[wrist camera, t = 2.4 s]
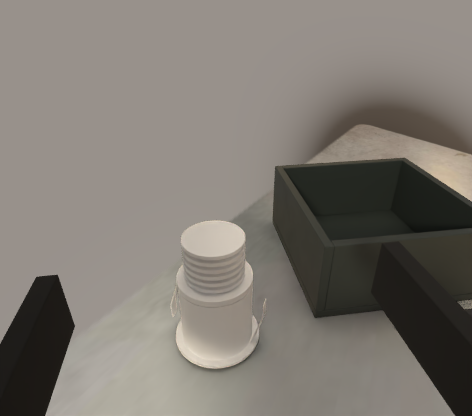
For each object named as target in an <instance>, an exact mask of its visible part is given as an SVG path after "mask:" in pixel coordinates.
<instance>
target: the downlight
mask: <svg viewBox="0 0 472 416" xmlns="http://www.w3.org/2000/svg"><path fill="white" fill-rule="evenodd" d="M181 247H182V258H183V264H182V266H181V267H180V268H179V270H178V272H177V276H176V281H177V283H176V287H175V290H174V294H173V298H172V301H171V305H170V307H171V312H172V317H173V316H174V315H175V313H176V312H177V305H176V295H177V292H178V297H179V305H180V313H181V320H180V322H179V324H178V326H177V330H176V342H177V346H178V348H179V350H180V352H181V353H182V355H183V356H184V357H185V358H186V359H187V360H189V361H190V362H192V363H194V364H196V365H198V366H201V367H205V368H213V369H218V368H226V367H230V366H233V365H236V364H238V363H240V362H241V361H243V360H244V359H246V358H247V357H248V356H249V355H250V354H251V353H252V352H253V350H254V349H255V347H256V345H257V343H258V339H259V327H260V325H261V323H262V321H263V319H264V316H265V313H266V298H265V301H264V304H263V317H262V319H261V321H260V323H259V325H258V323H257V321H256V319H255V317H254V316H253V314H252V304H253V271H252V268H251V266H250V265H249V263H248V262H247V261H246V260H245V233H244V231H243V230H242V229H241V228H240V227H239V226H237V225H235V224H233V223H230V222H226V221H219V220H211V221H204V222H200V223H197V224H194V225H192V226H190V227H189V228H188V229H186V230H185V231H184V233H183V234H182V236H181Z"/></svg>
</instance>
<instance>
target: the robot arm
mask: <svg viewBox="0 0 472 416" xmlns="http://www.w3.org/2000/svg"><path fill="white" fill-rule="evenodd" d="M371 293H372V295H373V296H374V298H375V299H376V301H377V302H378V303H379V305H380V306H381V308H382V309H383V311H384V312H385V314H386V315H387V317H388V318H389V320H390V321H391V322H392V324H393V325H394V327H395V328H396V330H397V331H398V333H399V334H400V336H401V337H402V338H403V340H404V341H405V343H406V344H407V346H408V347H409V349H410V350H411V352H412V353H413V355H414V356H415V357H416V359H417V360H418V362H419V363H420V365H421V366H422V368H423V369H424V371H425V372H426V374H427V375H428V376H429V378H430V379H431V381H432V382H433V384H434V385H435V387H436V388H437V390H438V391H439V393H440V394H441V395H442V397H443V398H444V400H445V401H446V403H447V404H448V406H449V407H450V409H451V410H452V412H453V413H454V414H455V416H472V309H466V310H464V309H463V308H462V307H461V306H460V305H459V304H458V302H457V301H456V300H455V299H454V298H453V297H452V296H451V295H450V294H449V293H448V292H447V291H446V290H445V289H444V288H443V287H442V286H441V285H440V284H439V283H438V282H437V281H436V280H435V279H434V277H433V276H432V275H431V274H430V273H429V272H428V271H427V270H426V269H425V268H424V267H423V266H422V265H421V264H420V263H419V262H418V261H417V260H416V259H415V258H414V257H413V256H412V255H411V254H410V252H409V251H408V250H407V249H406V248H405V247H404V246H403V245H402V244H401V243H400V242H399V241H397V242H387V243H382V245H381V249H380V254H379V258H378V262H377V267H376V271H375V276H374V280H373V284H372V289H371ZM74 327H75V325H74V322H73V319H72V316H71V313H70V310H69V307H68V304H67V301H66V298H65V295H64V293H63V289H62V286H61V283H60V281H59V277H58V275H50V276H40V277H36V279H35V281H34V282H33V284H32V286H31V288H30V290H29V292H28V294H27V295H26V297H25V299H24V301H23V303H22V305H21V306H20V309H19V310H18V312H17V314H16V316H15V318H14V319H13V321H12V323H11V325H10V327H9V329H8V331H7V332H6V334H5V336H4V338H3V340H2V342H1V344H0V416H45V414H46V411H47V408H48V405H49V402H50V399H51V396H52V393H53V390H54V387H55V384H56V381H57V378H58V375H59V372H60V369H61V366H62V363H63V360H64V357H65V354H66V351H67V348H68V345H69V342H70V339H71V336H72V333H73V330H74Z"/></svg>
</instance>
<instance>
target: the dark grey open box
mask: <svg viewBox="0 0 472 416" xmlns="http://www.w3.org/2000/svg"><path fill="white" fill-rule="evenodd" d="M273 224H274V226H275V228H276V230H277V233H278V235H279V237H280V240H281V242H282V244H283V246H284V249H285V251H286V253H287V255H288V258H289V260H290V262H291V264H292V267H293V269H294V271H295V274H296V276H297V278H298V280H299V283H300V285H301V287H302V289H303V292H304V294H305V296H306V298H307V301H308V303H309V305H310V308H311V310H312V312H313V314H314V317H315V318H317V317H325V316H334V315H342V314H351V313H359V312H368V311H376V310H383V309H382V308H381V306H380V305H379V303H378V302H377V301H376V299H375V298H374V296H373V295H372V293H371V289H372V284H373V280H374V276H375V271H376V267H377V262H378V258H379V254H380V249H381V245H382V243H387V242H397V241H399V242H400V243H401V244H402V245H403V246H404V247H405V248H406V249H407V250H408V251H409V252H410V254H411V255H412V256H413V257H414V258H415V259H416V260H417V261H418V262H419V263H420V264H421V265H422V266H423V267H424V268H425V269H426V270H427V271H428V272H429V273H430V274H431V275H432V276H433V277H434V279H435V280H436V281H437V282H438V283H439V284H440V285H441V286H442V287H443V288H444V289H445V290H446V291H447V292H448V293H449V294H450V295H451V296H452V297H453V298H454V299H455V300H456V301H461V300H470V299H472V202H471V201H470V200H468V199H467V198H465V197H464V196H462V195H461V194H459V193H458V192H456V191H455V190H453V189H452V188H450V187H449V186H447V185H446V184H444V183H442V182H441V181H439V180H438V179H436V178H435V177H433V176H432V175H430V174H429V173H427V172H426V171H424V170H423V169H421V168H420V167H418V166H417V165H415V164H414V163H412V162H411V161H409V160H407V159H406V158H394V159H379V160H363V161H348V162H332V163H317V164H301V165H286V166H276V167H275V182H274V202H273Z"/></svg>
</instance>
